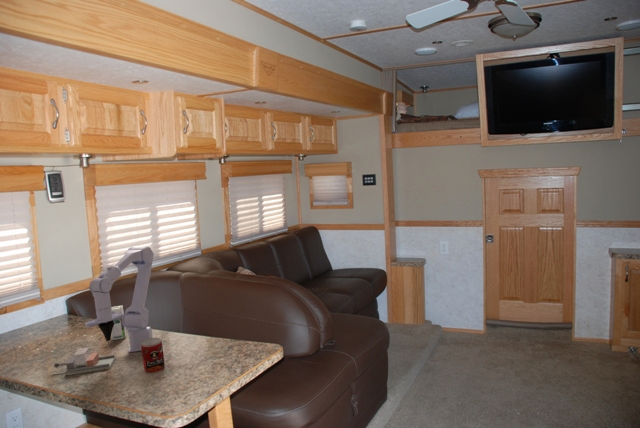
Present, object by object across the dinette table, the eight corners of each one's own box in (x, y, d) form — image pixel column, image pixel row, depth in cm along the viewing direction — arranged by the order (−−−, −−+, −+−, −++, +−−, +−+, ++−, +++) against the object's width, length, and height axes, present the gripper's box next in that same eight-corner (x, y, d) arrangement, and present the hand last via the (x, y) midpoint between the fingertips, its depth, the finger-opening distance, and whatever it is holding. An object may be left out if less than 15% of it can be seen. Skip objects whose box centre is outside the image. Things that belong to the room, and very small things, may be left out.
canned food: (146, 374, 189) (142, 346, 188) (142, 367, 196) (139, 340, 195) (166, 369, 193) (163, 341, 191) (163, 362, 200) (159, 336, 198)
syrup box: (112, 340, 231) (107, 310, 230) (114, 336, 237) (110, 306, 235) (125, 338, 233) (121, 308, 231) (126, 334, 238) (122, 304, 237)
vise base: (115, 358, 208) (114, 349, 208) (109, 368, 198) (108, 358, 198) (59, 367, 204) (58, 357, 204) (50, 377, 194) (49, 367, 194)
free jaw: (99, 359, 206) (98, 352, 205) (94, 367, 198) (93, 359, 198) (91, 360, 205) (90, 353, 205) (86, 368, 198) (85, 360, 197)
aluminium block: (91, 361, 205) (89, 346, 205) (86, 367, 199) (84, 353, 198) (81, 362, 205) (79, 348, 204) (76, 369, 198) (73, 354, 197)
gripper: (118, 301, 208) (123, 332, 209) (81, 310, 199) (86, 343, 200) (124, 304, 202) (128, 336, 204) (86, 313, 193) (91, 347, 195)
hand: (108, 340), depth 202 cm, fingers closed
